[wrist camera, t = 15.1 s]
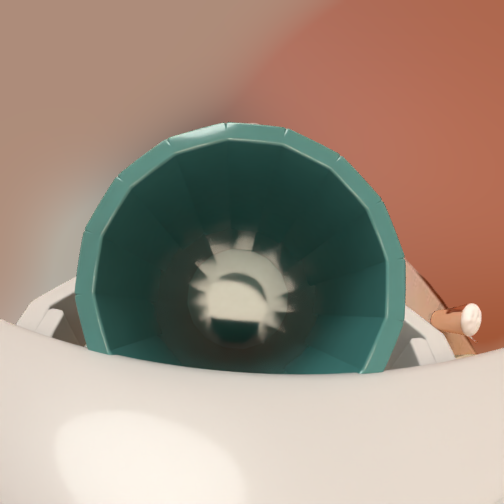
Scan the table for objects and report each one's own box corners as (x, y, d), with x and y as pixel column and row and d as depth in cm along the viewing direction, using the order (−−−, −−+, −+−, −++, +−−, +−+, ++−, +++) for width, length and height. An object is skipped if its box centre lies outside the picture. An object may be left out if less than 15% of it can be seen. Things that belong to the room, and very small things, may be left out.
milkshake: (424, 338, 35) (467, 341, 25) (429, 304, 36) (473, 300, 26) (443, 340, 35) (485, 343, 25) (447, 308, 36) (490, 304, 26)
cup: (162, 321, 15) (35, 339, 4) (214, 224, 16) (184, 88, 5) (262, 373, 15) (314, 485, 4) (311, 274, 16) (435, 213, 5)
